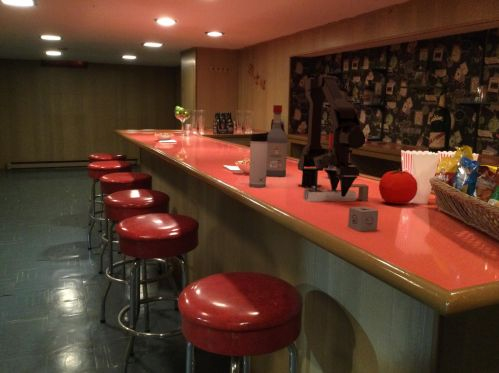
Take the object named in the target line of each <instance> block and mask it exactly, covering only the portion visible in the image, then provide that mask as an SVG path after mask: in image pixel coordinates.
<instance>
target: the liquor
mask: <svg viewBox="0 0 499 373" xmlns="http://www.w3.org/2000/svg"><path fill="white" fill-rule="evenodd" d="M272 107H273V108H272V112H273V124H272V128H271V129H270V130H269V131H268V132H269V134H268V139H267V140H268V143H267V144H268V145H267V170H266V177H269V178H271V177H273V178H285V177H286V175H287V158H288V137H287V135H286V133H285V132H284V130H283V129H282V125H281V124H282V122H281V121H282V120H281V119H282V113H283V105H280V104H279V105H276V104H273V106H272Z"/></svg>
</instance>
